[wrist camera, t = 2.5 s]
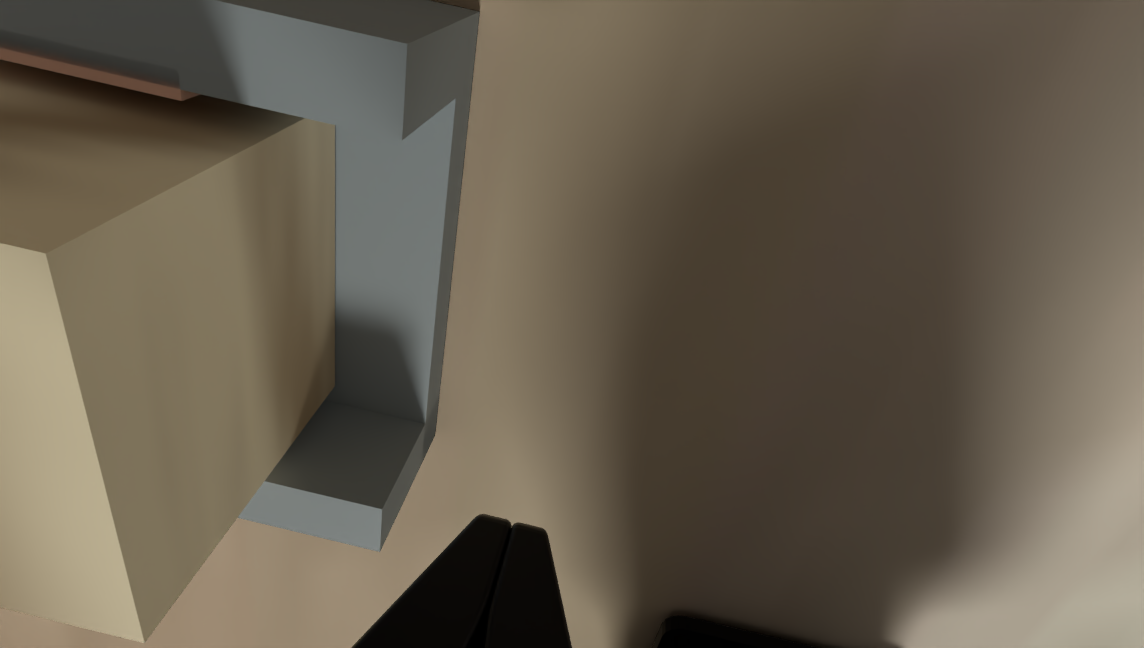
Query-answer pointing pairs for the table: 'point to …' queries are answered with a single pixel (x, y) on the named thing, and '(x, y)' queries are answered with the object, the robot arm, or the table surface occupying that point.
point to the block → (149, 333)
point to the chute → (362, 200)
